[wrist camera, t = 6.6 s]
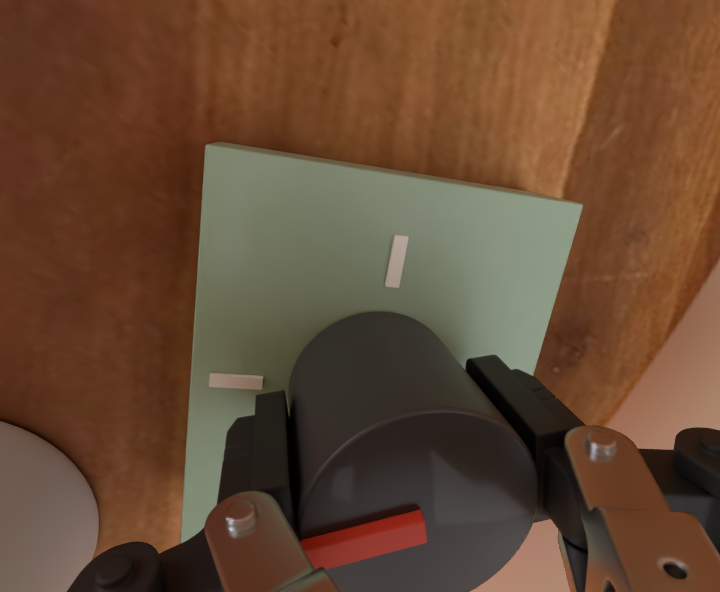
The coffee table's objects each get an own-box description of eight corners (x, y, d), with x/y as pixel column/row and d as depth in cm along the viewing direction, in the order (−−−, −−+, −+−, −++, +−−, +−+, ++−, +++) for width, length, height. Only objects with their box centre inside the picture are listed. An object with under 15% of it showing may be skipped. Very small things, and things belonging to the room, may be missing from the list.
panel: (451, 489, 20) (484, 553, 17) (193, 486, 17) (178, 559, 14) (529, 191, 16) (588, 204, 13) (218, 141, 14) (204, 144, 11)
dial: (445, 294, 13) (548, 392, 8) (458, 438, 15) (550, 589, 10) (271, 330, 13) (273, 456, 8) (305, 475, 14) (323, 655, 9)
